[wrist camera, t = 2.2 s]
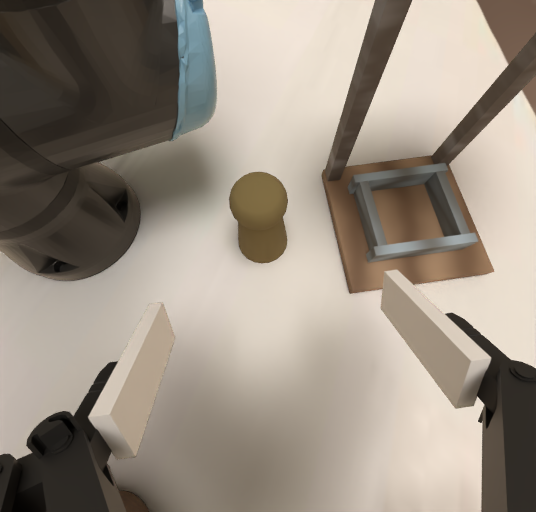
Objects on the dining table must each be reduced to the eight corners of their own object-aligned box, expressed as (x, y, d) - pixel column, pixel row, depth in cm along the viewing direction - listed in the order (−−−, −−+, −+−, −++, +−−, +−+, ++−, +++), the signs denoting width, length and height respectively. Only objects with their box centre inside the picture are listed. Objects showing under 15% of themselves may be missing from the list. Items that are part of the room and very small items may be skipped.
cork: (259, 209, 34) (252, 148, 23) (297, 235, 32) (308, 184, 22) (228, 243, 32) (206, 196, 22) (266, 273, 31) (263, 237, 20)
